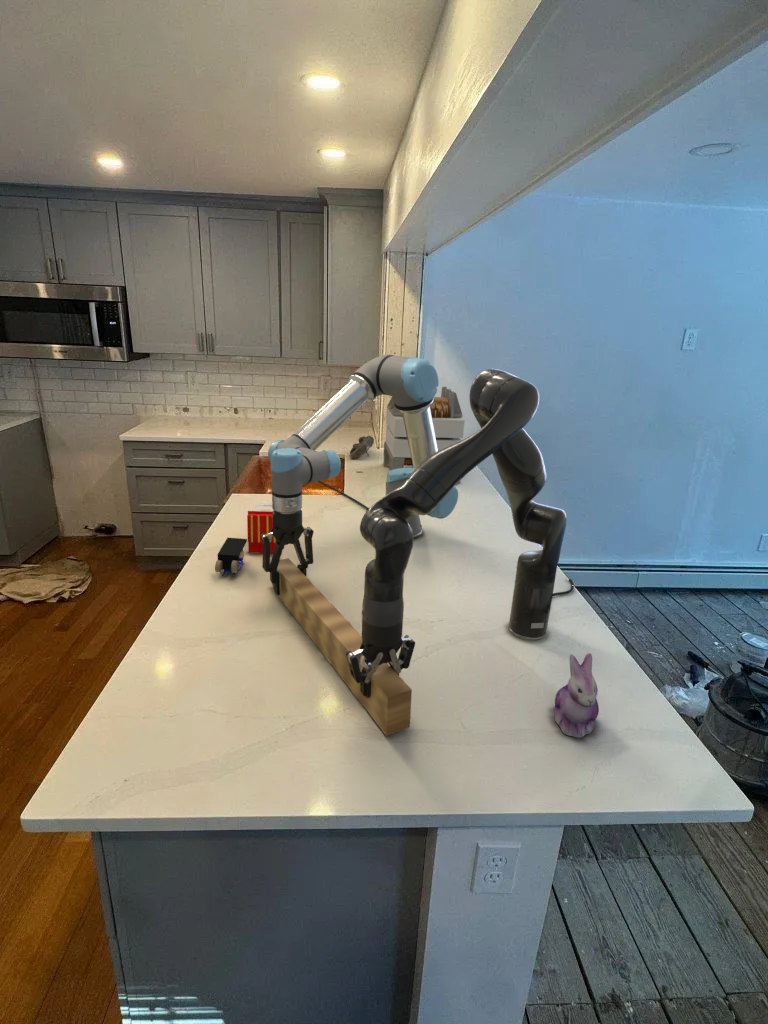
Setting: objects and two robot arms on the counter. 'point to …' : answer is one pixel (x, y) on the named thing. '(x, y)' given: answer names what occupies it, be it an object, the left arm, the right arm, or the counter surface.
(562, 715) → the figurine
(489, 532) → the counter surface
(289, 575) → the bar
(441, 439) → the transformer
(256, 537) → the toy
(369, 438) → the fossil
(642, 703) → the counter surface
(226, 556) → the figurine character
